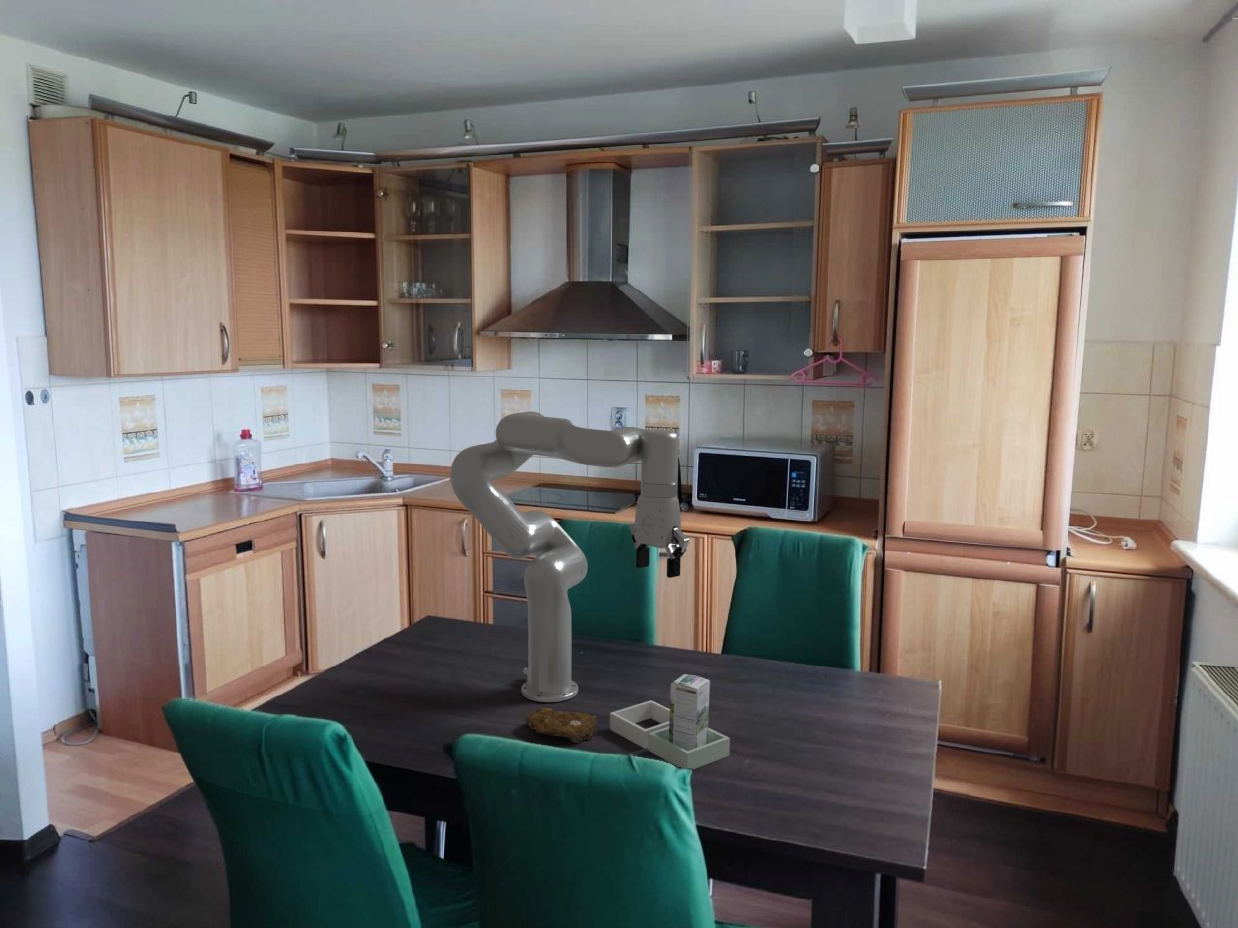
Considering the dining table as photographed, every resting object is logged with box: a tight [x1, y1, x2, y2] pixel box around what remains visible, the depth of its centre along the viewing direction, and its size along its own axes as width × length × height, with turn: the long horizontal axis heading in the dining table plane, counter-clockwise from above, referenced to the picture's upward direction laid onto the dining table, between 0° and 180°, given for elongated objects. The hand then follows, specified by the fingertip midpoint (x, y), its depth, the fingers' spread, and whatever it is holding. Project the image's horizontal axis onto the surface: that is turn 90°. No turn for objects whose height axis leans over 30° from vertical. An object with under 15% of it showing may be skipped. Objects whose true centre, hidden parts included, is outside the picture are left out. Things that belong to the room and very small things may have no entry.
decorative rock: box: [524, 707, 599, 744], centre depth 184 cm, size 11×4×15 cm
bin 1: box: [609, 699, 670, 749], centre depth 184 cm, size 11×11×4 cm
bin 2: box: [648, 727, 731, 770], centre depth 175 cm, size 11×11×4 cm
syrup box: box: [669, 674, 711, 751], centre depth 174 cm, size 6×6×14 cm
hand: (657, 571), depth 191 cm, fingers open, 9 cm apart
